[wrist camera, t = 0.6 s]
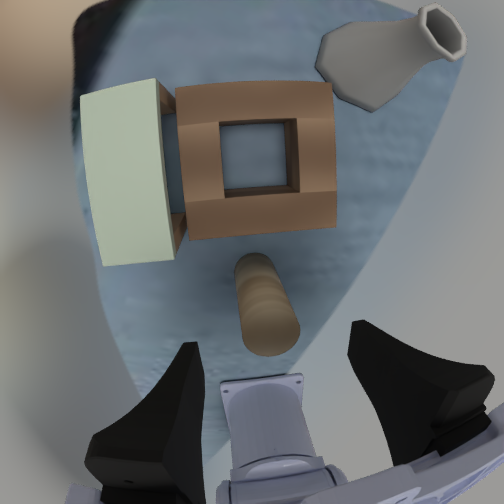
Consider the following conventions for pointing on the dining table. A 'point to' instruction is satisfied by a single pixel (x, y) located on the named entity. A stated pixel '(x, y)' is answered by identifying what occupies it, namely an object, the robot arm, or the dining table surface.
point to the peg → (264, 307)
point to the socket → (297, 157)
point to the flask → (387, 54)
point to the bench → (129, 173)
